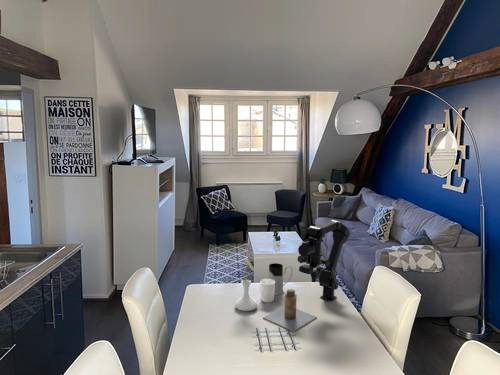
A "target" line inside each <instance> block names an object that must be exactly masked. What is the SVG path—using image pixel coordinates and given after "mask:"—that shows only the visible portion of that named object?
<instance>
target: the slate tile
mask: <svg viewBox="0 0 500 375" xmlns="http://www.w3.org/2000/svg"><path fill="white" fill-rule="evenodd" d="M284 316H285V305H283V306H281V307H280V308H278V309H277V310H275V311H273V312H271V313H268V314H267V315H265V316H263V317H262V319H263V320H265V321H268V322H270V323H272V324H274V325H277V326H278V327H281V328H284V329H285V330H287V331H289V332H292V333H296V332H297V331H299V330H300V329H301V328H303V327H305V326H306V325H308V324H309V323H311V322H312V321H314V320H315V319H317V318H318V317H317V316H315V315H313V314H310V313H309V312H305V311H303V310H301V309H297V308H296V318H295V319H293V320H288V319H286V318H285V317H284Z"/></svg>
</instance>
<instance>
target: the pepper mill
mask: <svg viewBox="0 0 500 375" xmlns="http://www.w3.org/2000/svg"><path fill="white" fill-rule="evenodd" d="M284 306H285V316H284V317H285V318H286V319H288V320H293V319H295V318H296V309H297V294H296V290H294V289H291V288H289V289H286V293H285V294H284Z"/></svg>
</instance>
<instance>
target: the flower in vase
mask: <svg viewBox="0 0 500 375" xmlns="http://www.w3.org/2000/svg"><path fill="white" fill-rule="evenodd" d="M244 261H245V263H246V264H247V265H246V268H245V270H244V272H243V274H244V279H242V280H241V284H242V286H243V295H242V296H241V297H239V299H237V300H236V301H235V302H234V307H235V308H236V309H237V310H239V311H243V312H248V311H249V312H250V311H253V310H256V308H257V307H258V302H257V301H256V300H255V299H254V298H253V297H251V296H250V294H249V290H250V288H249V287H250V285H251V283H252V281H251V279H250V280H249V279H248V278H249V277H250V276H247V275H246V272H247V270H248V269H247V268H248V267H249V268H250V269H251V271H253V272H254V271H255V268H254V267H253V264H252V262H250V260H249V259H248V258H247V257H244Z"/></svg>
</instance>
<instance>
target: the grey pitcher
mask: <svg viewBox="0 0 500 375" xmlns="http://www.w3.org/2000/svg"><path fill="white" fill-rule="evenodd" d="M288 268H290V269H291V273H290V276H289V277H288V279H287V280H286V281H285V282H284V275H286V272H287V269H288ZM283 271H284V272H283ZM292 276H293V267H292V266H289V265H288V266H286V267H284V266H283V264H281V263H276V262H273V263H270V264H268V279H273V280H275V294H274V296H280V295H279V294H281V295H283V294H284V286H285V285H286V284H288V282H289V281H290V280H291V278H292ZM282 293H283V294H282Z"/></svg>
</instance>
